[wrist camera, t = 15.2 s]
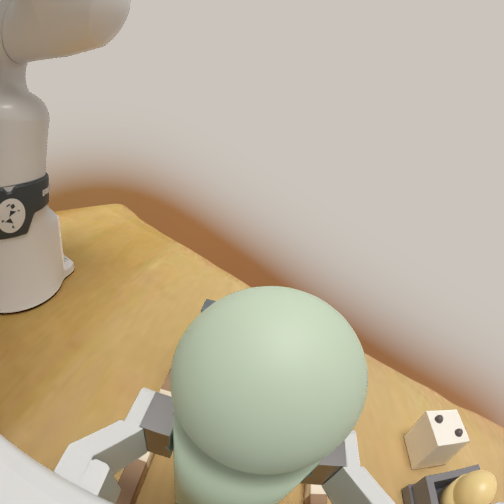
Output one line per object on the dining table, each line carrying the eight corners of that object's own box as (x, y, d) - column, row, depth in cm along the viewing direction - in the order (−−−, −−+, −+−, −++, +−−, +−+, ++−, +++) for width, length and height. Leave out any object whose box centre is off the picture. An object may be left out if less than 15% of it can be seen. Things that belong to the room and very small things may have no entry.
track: (317, 578, 8) (353, 572, 6) (100, 538, 9) (77, 523, 7) (314, 360, 30) (328, 324, 28) (191, 334, 30) (194, 296, 29)
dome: (438, 533, 9) (478, 511, 7) (430, 489, 13) (464, 463, 11) (476, 519, 9) (513, 494, 7) (466, 480, 13) (499, 453, 11)
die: (411, 469, 17) (441, 442, 15) (403, 436, 21) (428, 407, 19) (443, 464, 17) (472, 437, 15) (434, 434, 20) (459, 406, 19)
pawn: (153, 492, 10) (124, 282, 5) (216, 448, 14) (270, 238, 9) (224, 551, 8) (354, 457, 3) (282, 496, 12) (419, 312, 6)
